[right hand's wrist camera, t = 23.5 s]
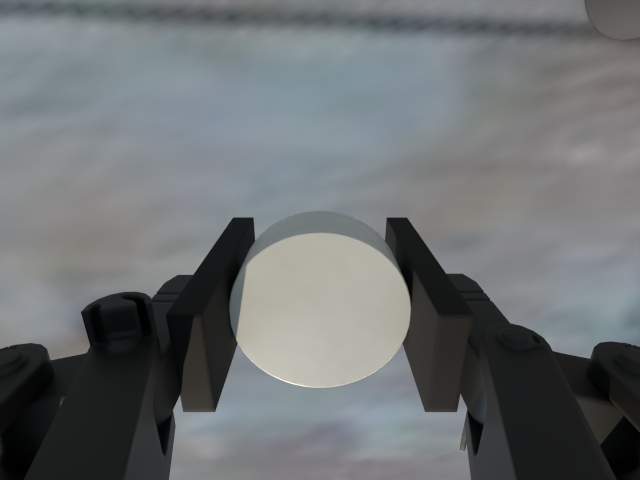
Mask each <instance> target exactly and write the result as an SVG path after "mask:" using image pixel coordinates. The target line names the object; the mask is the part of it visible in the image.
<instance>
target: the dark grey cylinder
mask: <svg viewBox="0 0 640 480" xmlns="http://www.w3.org/2000/svg"><path fill="white" fill-rule="evenodd" d="M585 5H586V10H587V14H588V16H589V19H590V21H591V22H592V24H593V25H594V27H595V28H596V29H597V30H598V31H599V32H601V33H602V34H603V35H606V36H608V37H610V38H613V39H620V40H626V39H633V38H640V0H585Z"/></svg>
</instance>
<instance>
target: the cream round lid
mask: <svg viewBox="0 0 640 480" xmlns="http://www.w3.org/2000/svg"><path fill="white" fill-rule="evenodd" d="M229 311H230V321H231V327H232V330H233V333H234V336H235V338H236V340H237V342H238V344H239V346H240V347H241V349H242V350H243V351H244V353H245V354H246V355H247V356H248V357H249V359H250V360H251V361H252V362H254V363H255V364H256V365H257V366H258V367H259V368H261V369H262V370H264V371H265V372H267V373H268V374H270V375H272V376H274V377H276V378H278V379H280V380H283V381H285V382H288V383H292V384H295V385H300V386H306V387H334V386H341V385H345V384H349V383H352V382H355V381H358V380H360V379H363V378H365V377H367V376H369V375H371V374H372V373H374V372H375V371H377V370H378V369H380V368H381V367H382V366H383V365H385V364H386V363H387V362H388V361H389V360H390V359H391V358H392V357H393V356H394V355H395V353H396V352H397V350H398V349H399V348H400V346H401V344H402V343H403V341H404V339H405V337H406V334H407V331H408V328H409V323H410V314H411V298H410V294H409V290H408V286H407V284H406V282H405V279H404V277H403V275H402V273H401V271H400V268H399V266H398V264H397V262H396V259H395V257H394V255H393V253H392V251H391V249H390V248H389V246H388V245H387V243H386V242H385V241H384V239H383V238H382V237H381V236H380V235H379V234H378V233H377V232H376V231H375V230H373V229H372V228H371V227H369V226H368V225H366V224H365V223H363V222H361V221H359V220H357V219H355V218H353V217H350V216H347V215H344V214H339V213H334V212H325V211H316V212H306V213H301V214H297V215H294V216H290V217H288V218H285V219H283V220H281V221H279V222H277V223H276V224H274V225H273V226H271V227H269V228H268V229H267V230H266V231H265V232H264V233H262V234H261V235H260V236H259V238H258V239H257V240H256V241H255V242H254V244H253V245H252V247H251V248H250V250H249V252H248V254H247V256H246V258H245V260H244V262H243V265H242V267H241V269H240V271H239V273H238V276H237V278H236V280H235V282H234V284H233V288H232V291H231V294H230V301H229Z"/></svg>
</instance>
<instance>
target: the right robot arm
mask: <svg viewBox="0 0 640 480" xmlns="http://www.w3.org/2000/svg"><path fill="white" fill-rule="evenodd" d="M254 242H255V233H254V219H253V218H233V219H232V220H231V222H230V223H229V225H228V226H227V227H226V229H225V230H224V232H223V233H222V235H221V236H220V238H219V239H218V240H217V242H216V243H215V245H214V246H213V248H212V249H211V250H210V252H209V253H208V255H207V256H206V258H205V259H204V260H203V262H202V263H201V265H200V266H199V268H198V269H197V271H196V272H195V273H194V275H177V276H176V277H174V278H172V279H171V280H169V281H167V282H166V283H164V284H163V286H162V287H161V288H160V289H159V291H158V292H157V294H155V295H154V297H153V298H152V299H151V297H149V296H148V295H146V294H144V293H140V292H122V293H117V294H112V295H109V296H106V297H103V298H101V299H98V300H96V301H95V302H93V303H91V304H89V305H88V306H87V307H86V308H85V309H84V310H83V311H82V312H81V314H82V317H83V321H84V324H85V328H86V332H87V335H88V339H89V342H90V348H89V350H88V352H87V353H85V354H81V355H76V356H71V357H66V358H61V359H56V360H50V357H49V354H48V351H47V349H46V348H45V347H44V346H42V345H40V344H33V343H28V344H20V345H13V346H10V347H5V348H2V349H0V480H169V474H170V466H171V458H172V450H173V442H174V434H175V419H174V414H173V408H174V406H175V404H176V402H177V400H178V398H179V396H181V402H182V407H183V412H215V410H216V407H217V404H218V401H219V398H220V395H221V392H222V389H223V386H224V383H225V380H226V377H227V374H228V371H229V368H230V365H231V362H232V359H233V356H234V353H235V350H236V347H237V344H238V342H237V340H236V338H235V336H234V333H233V330H232V327H231V321H230V311H229V301H230V294H231V291H232V288H233V284H234V282H235V280H236V278H237V276H238V273H239V271H240V269H241V267H242V265H243V262H244V260H245V258H246V256H247V254H248V252H249V250H250V248H251V247H252V245H253V244H254ZM385 242H386V243H387V245H388V246H389V248H390V249H391V251H392V253H393V255H394V257H395V259H396V262H397V264H398V266H399V268H400V271H401V273H402V275H403V277H404V279H405V282H406V284H407V286H408V290H409V294H410V298H411V314H410V323H409V328H408V331H407V334H406V337H405V339H404V341H403V346H404V349H405V352H406V355H407V358H408V361H409V364H410V367H411V370H412V373H413V376H414V379H415V382H416V385H417V388H418V391H419V395H420V398H421V401H422V404H423V407H424V410H425V412H457V408H458V403H459V397H460V393H461V395H462V397H463V400H464V402H465V404H466V406H467V408H468V409H467V414H466V419H465V424H464V429H463V434H462V439H461V445H460V450H463V451H465V448H466V443H467V449H468V457H469V465H470V473H471V480H640V347H638V346H635V345H633V346H632V345H631V344H627V343H619V342H603V343H599V344H598V345H596V346H595V347H594V349H593V352H592V355H591V358H590V359H588V358H583V357H578V356H572V355H567V354H562V353H558V352H554V351H552V349H551V347H550V345H549V344H548V343H547V342H546V340H545V339H544V338H543V337H541V336H540V335H538V334H537V333H536V332H534V331H532V330H530V329H527V328H525V327H523V326H519V325H515V324H510V323H509V321H508V320H507V319H506V318H505V317H504V315H503V314H502V313H501V312H500V311H499V309H498V308H497V307H496V306H495V304H494V303H493V302H492V301H490V298H489V297H488V296H487V295H486V294H485V293H484V291H483V290H482V289H481V287H480V286H479V285H478V284H477V283H476V282H475V281H474V280H472V279H470V278H469V277H467V276H465V275H464V274H446V273H445V272H444V270H443V269H442V267H441V266H440V264H439V263H438V262H437V260H436V259H435V257H434V256H433V254H432V253H431V252H430V250H429V249H428V247H427V246H426V244H425V243H424V241H423V240H422V239H421V237H420V236H419V234H418V233H417V231H416V230H415V229H414V227H413V226H412V224H411V223H410V221H409V220H408V218H387V223H386V237H385Z"/></svg>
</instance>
